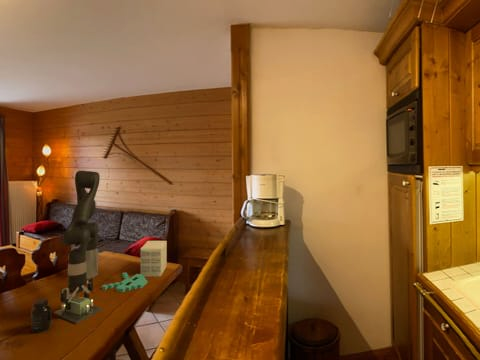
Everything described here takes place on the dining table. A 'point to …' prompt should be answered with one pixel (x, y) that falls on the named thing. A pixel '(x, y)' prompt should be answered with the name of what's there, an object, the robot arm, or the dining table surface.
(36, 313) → the supplement bottle
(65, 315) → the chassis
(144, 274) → the supplement box
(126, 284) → the alien figure
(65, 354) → the dining table surface
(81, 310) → the block
